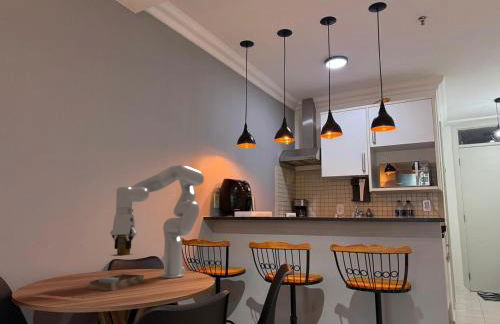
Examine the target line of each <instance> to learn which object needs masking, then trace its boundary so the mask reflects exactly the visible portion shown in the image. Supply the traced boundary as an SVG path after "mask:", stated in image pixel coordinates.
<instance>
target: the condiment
mask: <svg viewBox="0 0 500 324" xmlns="http://www.w3.org/2000/svg"><path fill="white" fill-rule="evenodd" d="M117 237H118V243H117V249H116V250H117V251H116V253H115V254H111V256H115V257H123V256H130V255H131V256H132V255H133V253H131V249H126V241H127V238H126V235H118V236H117Z"/></svg>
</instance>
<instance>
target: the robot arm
mask: <svg viewBox="0 0 500 324" xmlns="http://www.w3.org/2000/svg"><path fill="white" fill-rule="evenodd" d="M204 177H205V176H204V174H203V172H201V171H200V170H197V169H195V168H192V167H190V166H188V165H185V164H177V165H171V166H169V167H167V168H166V169H163V170H162V171H159V172H158V173H156V174H154V175H152V176H150V177H148V178H146V179H144V180H141V181H139V182H137V183H135V184H133V185H131V186H118V187H117V188H116V199H115V202H116V203H115V215H114V219H113V224H112V225H113V226H112V229H111V231H110V232H109V235H110V236H111V238H112V239H113V241H114V250H117V243H118V235H126V238H127V241H126V249H130V250H131V249H132V241H133V239H134V237H136V235H137V233H138V232H137V231H136V228H135V216H134V214H133V213H134V209H133V203H138V202H139V203H140V202H144V201H146V200H147V199H148V198H149V196H150V193H153V192H157V191H160V190H163V189H165V188H166V187H168V186H170V185H171V184H173V183H174V182H176V181H177V182H179V185H180V188H181V189H180V190H181V193H180V196H179V198H178V199H177V202H176V204H175V206H174V208H173V215H174V216H175V217H170V218H168V219H166V220H165V221H164V223H163V225H162V226H163V227H162V229H163V236H164V248H163V249H164V250H163V252H164V255H163V272H162V273H161V274H160V277H161V278H164V279H165V278H166V279H174V278H182V277H184V276H185V273H184V272H183V271H184V270H185V267H184V266H182V264H183V263H182V259H183V258H182V257H183V254H182V253H183V242H182V240H183V239H182V237H181V236H188V235H189V234H190V233H191V232H192V230H193V228H194V226H195V225H196V221H197V220H198V217H199V215H200V206H199V204H198V202H196V201H195V200H196V192H195V191H196V190H195V187H198V186H201V185H203V183H204V180H205V178H204Z"/></svg>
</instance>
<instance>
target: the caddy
mask: <svg viewBox="0 0 500 324" xmlns="http://www.w3.org/2000/svg"><path fill="white" fill-rule="evenodd" d="M110 277H113V278H119V281H117V282H114V283H110V282H99V278H98V279H94V280H89V282H88V290H89V289H90V290H100V291H101V290H102V291H116V290H119V289H122V288H126V287H129V286H133V285H136V284H140V283H143V282H144V277H145V276H144V274H129V273H128V274H127V273H121V274H115V275H111V276H110Z"/></svg>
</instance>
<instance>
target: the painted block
mask: <svg viewBox="0 0 500 324" xmlns="http://www.w3.org/2000/svg"><path fill="white" fill-rule="evenodd" d="M98 279H99V282H110V283H114V282H117V281H119V278H113V277H111V276H104V277H99V278H98Z"/></svg>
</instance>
